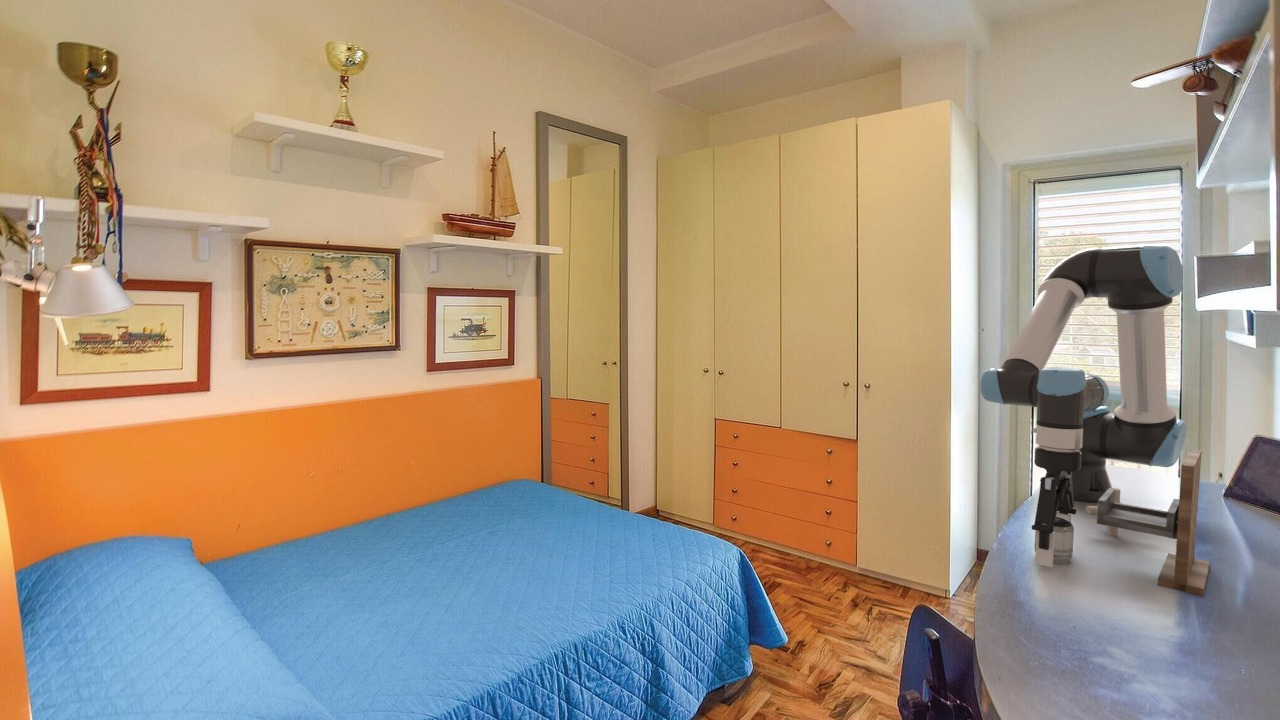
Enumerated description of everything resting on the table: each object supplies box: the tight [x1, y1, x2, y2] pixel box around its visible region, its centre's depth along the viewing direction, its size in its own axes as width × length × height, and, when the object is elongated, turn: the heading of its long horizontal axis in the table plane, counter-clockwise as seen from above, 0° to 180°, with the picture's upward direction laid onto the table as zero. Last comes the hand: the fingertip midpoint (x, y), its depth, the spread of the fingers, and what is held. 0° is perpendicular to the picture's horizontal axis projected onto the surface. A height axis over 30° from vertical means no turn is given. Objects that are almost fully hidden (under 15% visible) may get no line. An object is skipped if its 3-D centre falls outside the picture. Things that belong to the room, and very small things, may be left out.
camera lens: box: [1034, 517, 1075, 565], centre depth 123 cm, size 6×6×8 cm
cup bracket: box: [1096, 449, 1211, 596], centre depth 117 cm, size 16×16×22 cm
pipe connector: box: [1085, 487, 1121, 537], centre depth 135 cm, size 10×10×10 cm
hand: (1052, 554), depth 123 cm, fingers open, 13 cm apart
